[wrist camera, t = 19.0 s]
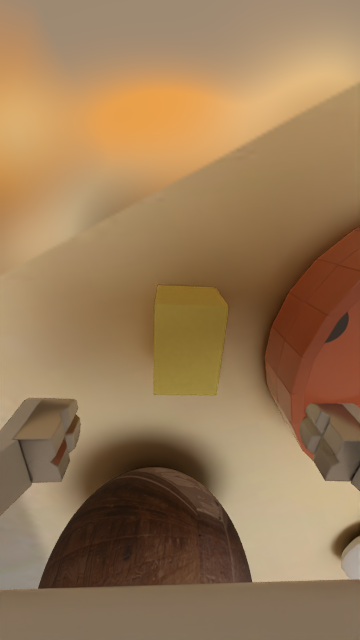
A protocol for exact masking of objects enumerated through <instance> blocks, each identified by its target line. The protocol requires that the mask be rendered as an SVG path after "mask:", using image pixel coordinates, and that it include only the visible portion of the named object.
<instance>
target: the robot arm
mask: <svg viewBox="0 0 360 640" xmlns="http://www.w3.org/2000/svg"><path fill="white" fill-rule="evenodd" d="M77 410H78V404H77V400H75V399H55V398H28V399H26V400H24V402H23V403H22V404H21V405H20V407H19V408H18V409H17V410H16V412H15V413H14V414H13V415H12V417H11V418H10V419H9V420H8V422H7V423H6V424H5V425H4V427H3V428H2V429H1V431H0V515H1V514H3V513H4V512H5V511H6V510H7V509H8V508H9V507H10V506H11V505H12V504H13V503H14V502H15V501H16V500H17V499H18V498H19V497H20V496H21V495H22V494H23V493H24V492H25V491H26V490H27V489H28V488H29V487H30V486H31V485H32V483H41V482H61V481H62V479H63V476H64V474H65V471H66V469H67V467H68V464H69V462H70V458H69V453H70V452H71V451H72V450H73V449H74V448H75V447H76V444H77V442H78V439H79V434H80V425H81V423H80V418H79V417H78V416H77V415H76V412H77ZM305 412H306V414H307V417H306V418H304V419H303V420H302V422H301V425H300V436H301V439H302V442H303V444H304V445H305V447H306V449H307V450H309V451H310V452H311V453H313V454H314V463H315V464H316V466H317V468H318V469H319V471H320V473H321V474H322V476H323V478H324V480H325V481H351V484H353V485H354V486H355V487H356V488H357V489H358V490H359V491H360V408H359V407H358V406H357V405H355V404H353V403H310V404H309V405H308V406H307V408H306V410H305ZM0 640H360V579H349V580H315V581H281V582H247V583H214V584H180V585H146V586H113V587H80V588H47V589H14V590H0Z"/></svg>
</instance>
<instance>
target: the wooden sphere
mask: <svg viewBox="0 0 360 640" xmlns="http://www.w3.org/2000/svg"><path fill="white" fill-rule="evenodd" d="M247 582H252V579H251V574H250V569H249V565H248V562H247V558H246V555H245V552H244V549H243V546H242V543H241V541H240V538H239V536H238V533H237V531H236V529H235V527H234V525H233V523H232V521H231V519H230V518H229V516H228V514H227V513H226V511H225V510H224V508H223V507H222V505H221V504H220V503H219V502H218V500H217V499H216V498H215V497H214V496H213V495H212V493H211V492H210V491H208V490H207V489H206V488H205V487H204V486H203V485H202V484H200V483H199V482H198V481H196V480H195V479H193V478H192V477H190V476H188V475H186V474H184V473H181V472H179V471H176V470H173V469H168V468H161V467H147V468H140V469H136V470H132V471H129V472H127V473H124V474H122V475H120V476H118V477H116V478H114V479H112V480H111V481H109V482H107V483H106V484H105V485H103V486H102V487H101V488H99V489H98V490H97V491H96V492H95V493H93V494H92V495H91V496H90V497H89V498H88V499H87V500H86V501H85V502H84V503H83V505H82V506H81V507H80V508H79V509H78V510H77V512H76V513H75V514H74V516H73V517H72V518H71V520H70V521H69V523H68V524H67V526H66V527H65V529H64V530H63V532H62V534H61V535H60V537H59V539H58V541H57V543H56V545H55V547H54V549H53V551H52V553H51V555H50V557H49V560H48V562H47V564H46V567H45V569H44V572H43V575H42V578H41V581H40V584H39V587H38V589H47V588H80V587H113V586H146V585H180V584H214V583H247Z"/></svg>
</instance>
